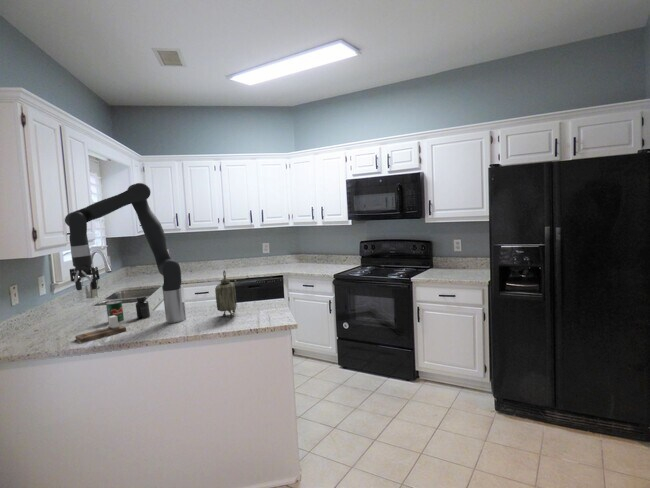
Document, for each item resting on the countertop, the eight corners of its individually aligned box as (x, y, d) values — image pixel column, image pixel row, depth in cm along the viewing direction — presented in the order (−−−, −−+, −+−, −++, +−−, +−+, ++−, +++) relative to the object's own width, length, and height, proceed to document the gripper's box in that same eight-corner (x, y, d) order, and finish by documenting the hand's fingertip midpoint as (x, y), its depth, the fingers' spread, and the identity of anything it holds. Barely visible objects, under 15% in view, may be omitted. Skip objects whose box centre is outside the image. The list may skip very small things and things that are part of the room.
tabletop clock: (235, 318, 203) (230, 271, 201) (218, 320, 202) (213, 273, 200) (237, 311, 217) (233, 267, 215) (221, 313, 216) (216, 269, 214)
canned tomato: (117, 323, 213) (114, 303, 212) (105, 323, 215) (102, 304, 214) (127, 319, 221) (124, 300, 220) (115, 319, 222) (112, 300, 221)
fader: (114, 325, 199) (113, 314, 198) (119, 327, 194) (118, 316, 194) (108, 327, 197) (106, 316, 196) (113, 329, 192) (111, 318, 192)
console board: (119, 328, 202) (119, 324, 201) (126, 330, 196) (125, 326, 195) (75, 339, 187) (75, 335, 187) (81, 343, 181) (81, 338, 181)
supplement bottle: (152, 315, 225) (149, 295, 224) (147, 318, 218) (144, 297, 217) (140, 316, 225) (137, 296, 224) (135, 319, 218) (132, 298, 217)
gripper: (100, 253, 179) (105, 287, 181) (76, 255, 183) (81, 288, 184) (86, 255, 172) (92, 291, 173) (61, 257, 175) (67, 292, 177)
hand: (86, 289), depth 179 cm, fingers open, 8 cm apart
